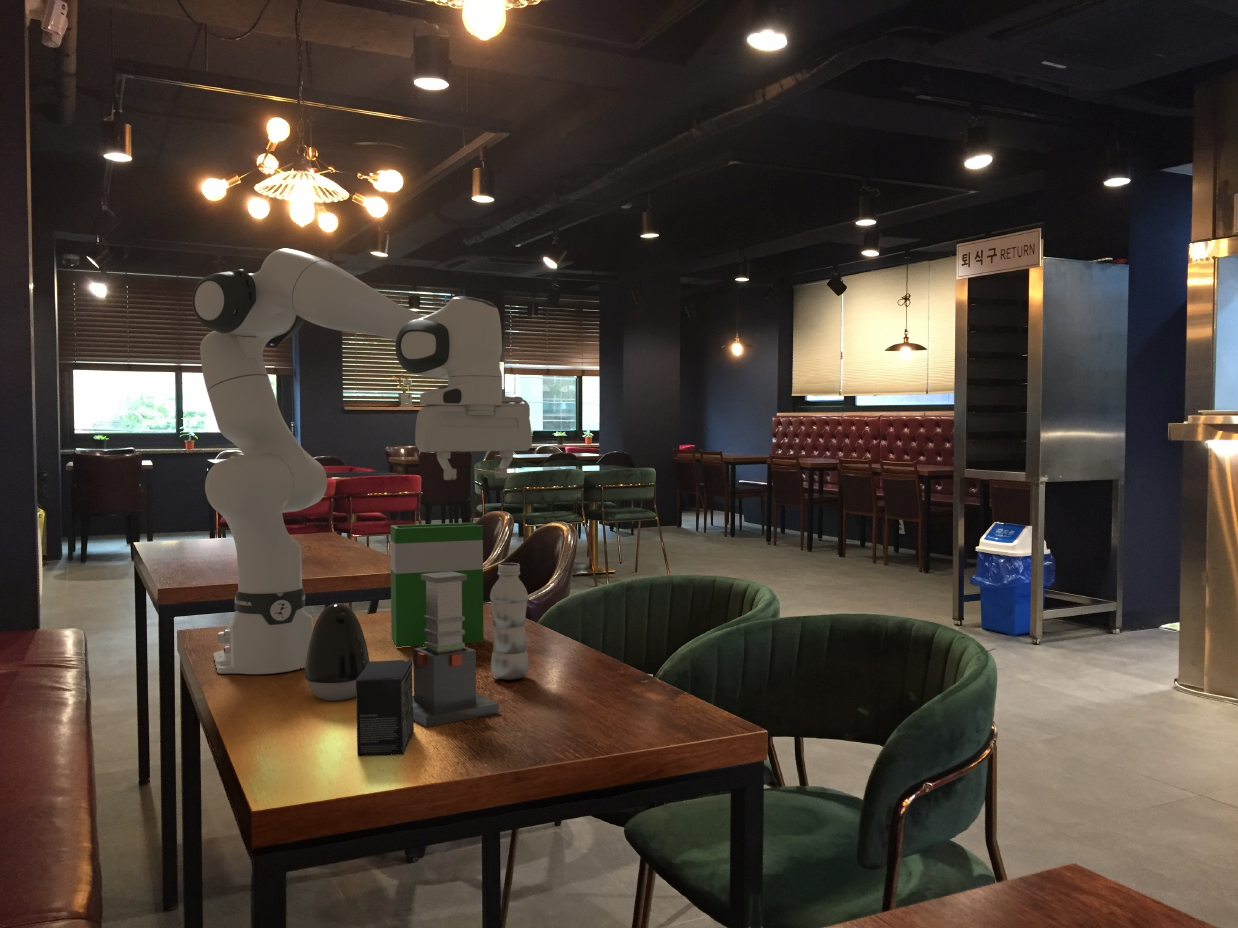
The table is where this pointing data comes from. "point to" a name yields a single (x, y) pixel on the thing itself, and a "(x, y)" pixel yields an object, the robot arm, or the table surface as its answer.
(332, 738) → the table surface
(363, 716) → the small box
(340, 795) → the table surface
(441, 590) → the column
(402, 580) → the hardback book
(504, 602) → the plastic bottle
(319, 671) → the pump dispenser
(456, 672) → the stand
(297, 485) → the robot arm
